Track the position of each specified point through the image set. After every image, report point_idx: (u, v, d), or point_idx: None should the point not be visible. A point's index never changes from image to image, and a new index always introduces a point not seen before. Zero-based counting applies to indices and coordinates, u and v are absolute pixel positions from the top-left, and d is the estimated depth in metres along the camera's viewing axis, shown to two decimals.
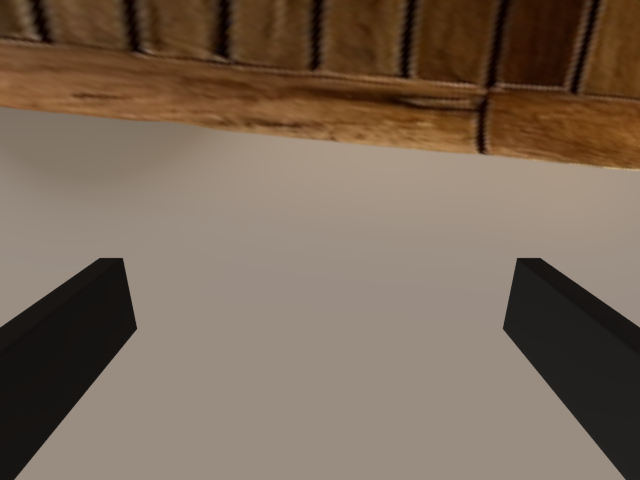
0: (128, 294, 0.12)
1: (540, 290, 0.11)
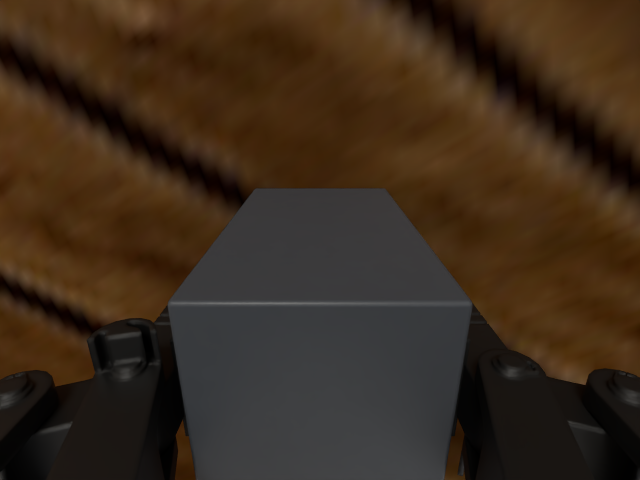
0: None
1: None
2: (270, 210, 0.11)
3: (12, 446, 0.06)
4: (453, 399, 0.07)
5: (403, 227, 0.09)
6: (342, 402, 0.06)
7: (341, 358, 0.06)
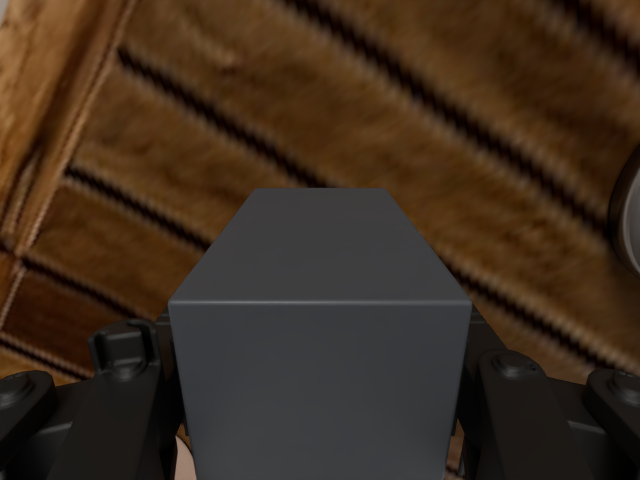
0: None
1: None
2: (269, 210, 0.11)
3: (12, 446, 0.06)
4: (453, 398, 0.07)
5: (403, 226, 0.09)
6: (342, 400, 0.07)
7: (341, 357, 0.06)
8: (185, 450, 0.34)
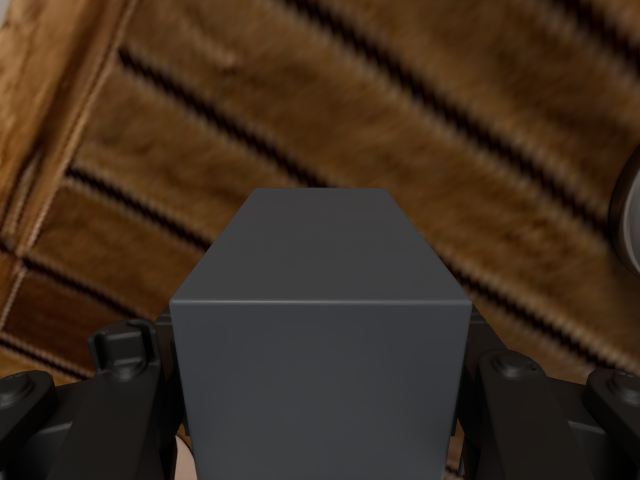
0: None
1: None
2: (270, 209, 0.11)
3: (12, 446, 0.06)
4: (453, 397, 0.07)
5: (403, 226, 0.09)
6: (342, 400, 0.07)
7: (342, 357, 0.06)
8: (186, 450, 0.34)
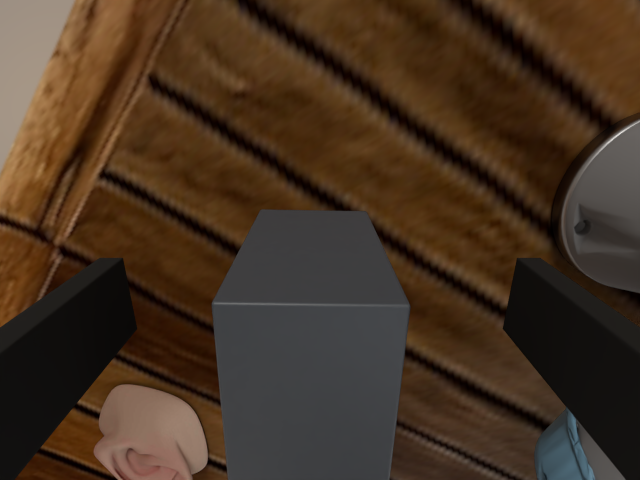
0: (128, 294, 0.12)
1: (540, 290, 0.11)
2: (274, 231, 0.14)
3: None
4: (400, 369, 0.10)
5: (374, 248, 0.13)
6: (325, 371, 0.10)
7: (325, 341, 0.09)
8: (194, 416, 0.39)
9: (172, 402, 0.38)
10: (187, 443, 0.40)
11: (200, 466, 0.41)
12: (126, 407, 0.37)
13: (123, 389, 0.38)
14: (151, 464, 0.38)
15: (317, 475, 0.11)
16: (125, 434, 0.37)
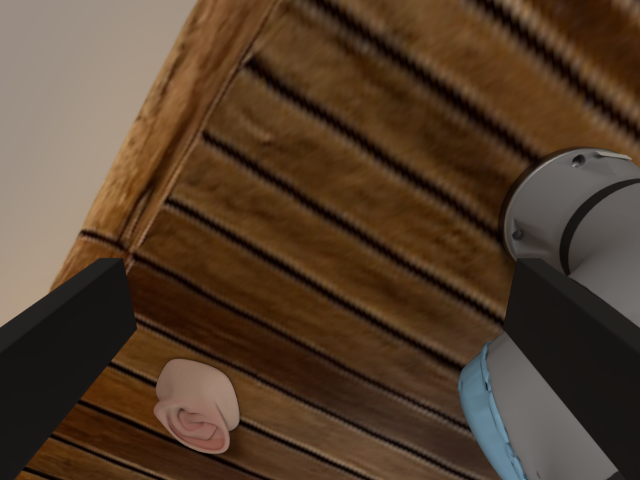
0: (128, 294, 0.12)
1: (540, 289, 0.11)
2: None
3: None
4: None
5: None
6: None
7: None
8: (229, 384, 0.50)
9: (213, 372, 0.49)
10: (224, 405, 0.51)
11: (233, 425, 0.52)
12: (178, 376, 0.49)
13: (176, 362, 0.49)
14: (197, 420, 0.49)
15: None
16: (178, 397, 0.49)
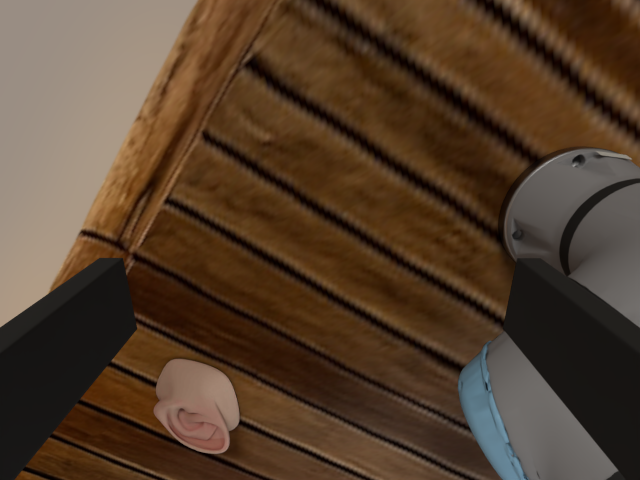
0: (128, 294, 0.12)
1: (540, 289, 0.11)
2: None
3: None
4: None
5: None
6: None
7: None
8: (229, 384, 0.50)
9: (213, 372, 0.49)
10: (224, 405, 0.51)
11: (233, 425, 0.52)
12: (178, 376, 0.49)
13: (176, 362, 0.49)
14: (197, 420, 0.49)
15: None
16: (178, 397, 0.49)
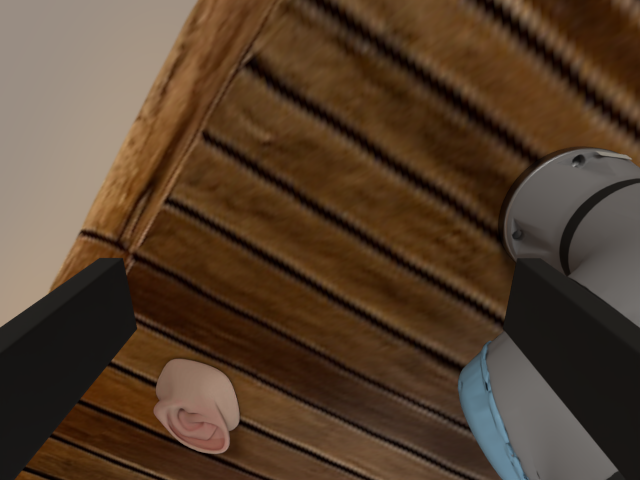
0: (128, 294, 0.12)
1: (540, 289, 0.11)
2: None
3: None
4: None
5: None
6: None
7: None
8: (229, 384, 0.50)
9: (213, 372, 0.49)
10: (224, 405, 0.51)
11: (233, 425, 0.52)
12: (178, 376, 0.49)
13: (176, 362, 0.49)
14: (197, 420, 0.49)
15: None
16: (178, 397, 0.49)
